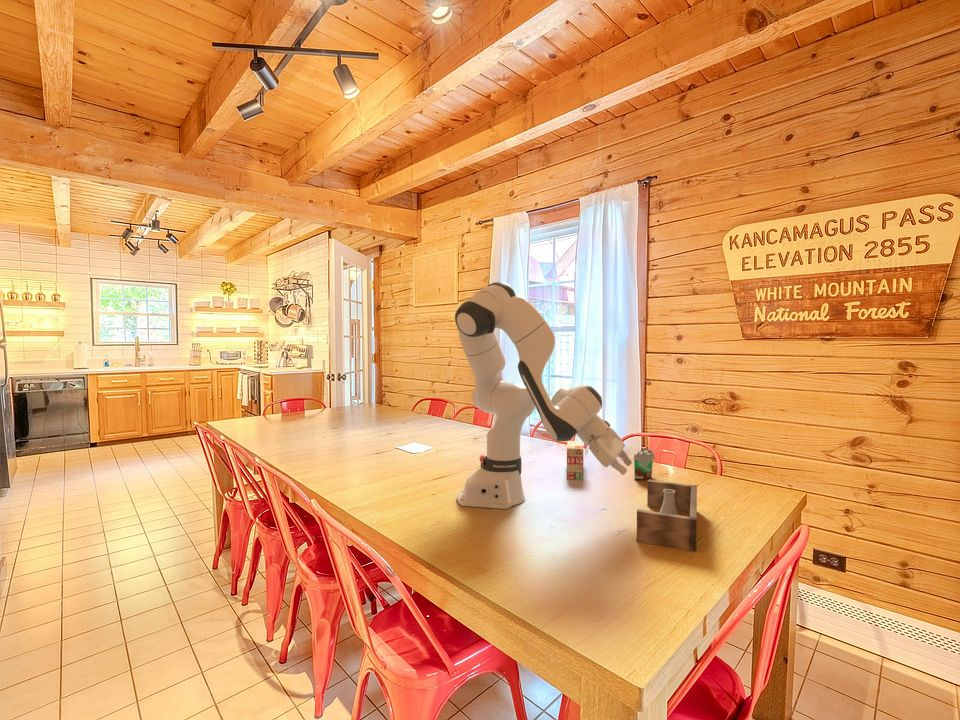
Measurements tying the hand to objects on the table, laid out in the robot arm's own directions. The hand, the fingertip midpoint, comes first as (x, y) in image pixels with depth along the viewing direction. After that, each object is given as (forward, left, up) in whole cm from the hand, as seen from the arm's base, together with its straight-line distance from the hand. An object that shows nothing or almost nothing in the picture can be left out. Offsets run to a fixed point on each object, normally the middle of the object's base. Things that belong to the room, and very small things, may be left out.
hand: (627, 468), depth 132 cm
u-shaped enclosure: (+10, -4, -15) cm, 19 cm away
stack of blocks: (-6, +48, -15) cm, 51 cm away
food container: (+19, +39, -15) cm, 46 cm away
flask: (+10, -4, -15) cm, 19 cm away
